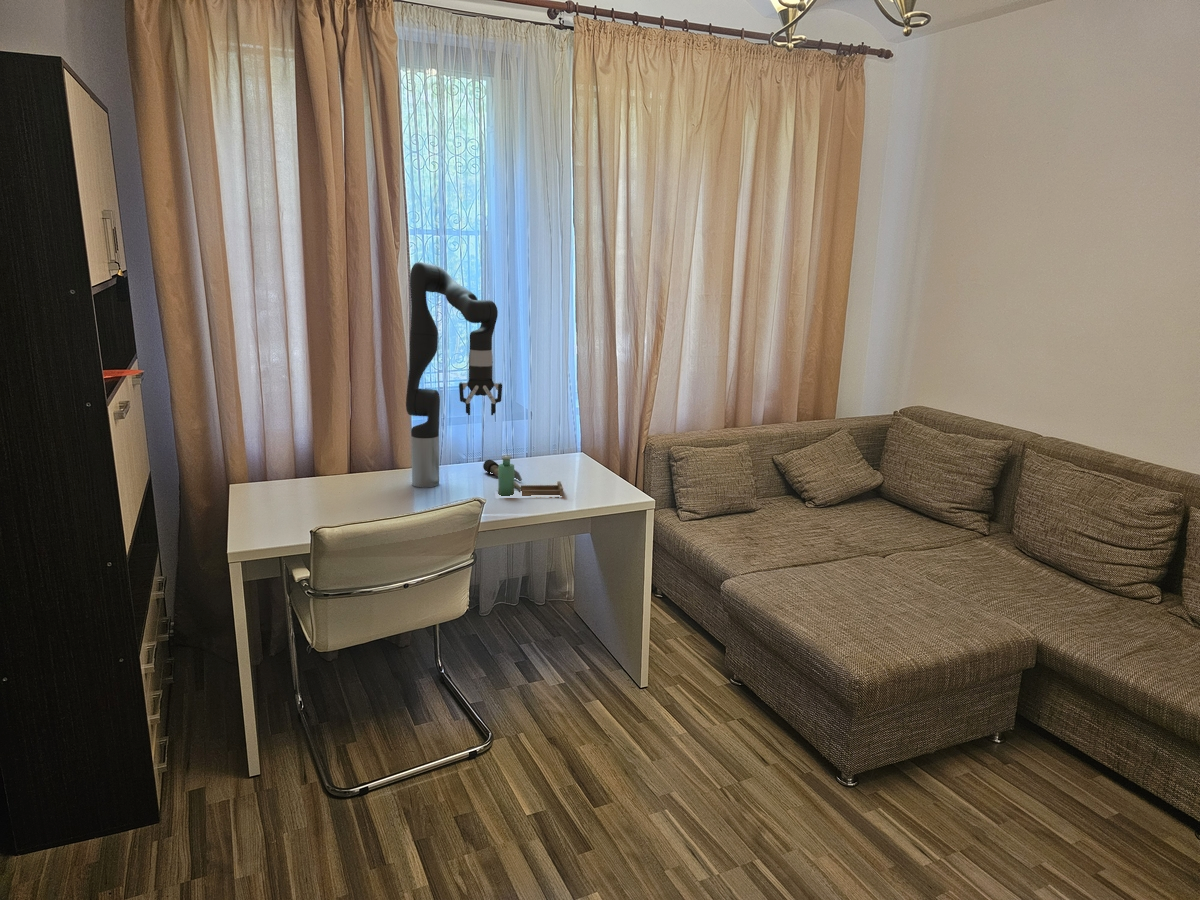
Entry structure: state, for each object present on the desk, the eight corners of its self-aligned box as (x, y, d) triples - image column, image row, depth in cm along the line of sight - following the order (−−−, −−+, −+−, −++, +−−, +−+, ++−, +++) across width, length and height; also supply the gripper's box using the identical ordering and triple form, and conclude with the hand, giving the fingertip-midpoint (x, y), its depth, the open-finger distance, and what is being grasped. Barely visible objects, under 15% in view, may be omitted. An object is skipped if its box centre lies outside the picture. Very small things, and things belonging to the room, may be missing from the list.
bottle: (498, 492, 274) (498, 454, 271) (513, 492, 275) (514, 454, 272) (498, 496, 269) (498, 458, 266) (514, 496, 270) (514, 458, 267)
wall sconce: (515, 496, 276) (483, 472, 301) (532, 493, 279) (499, 469, 304) (514, 483, 274) (482, 460, 300) (531, 480, 277) (498, 457, 303)
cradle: (493, 493, 276) (493, 481, 275) (560, 492, 280) (560, 481, 279) (494, 500, 267) (494, 489, 266) (562, 500, 271) (563, 488, 270)
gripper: (502, 362, 266) (502, 412, 269) (458, 361, 263) (458, 412, 267) (503, 365, 258) (503, 417, 262) (457, 365, 256) (457, 417, 260)
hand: (480, 414), depth 265 cm, fingers open, 7 cm apart
